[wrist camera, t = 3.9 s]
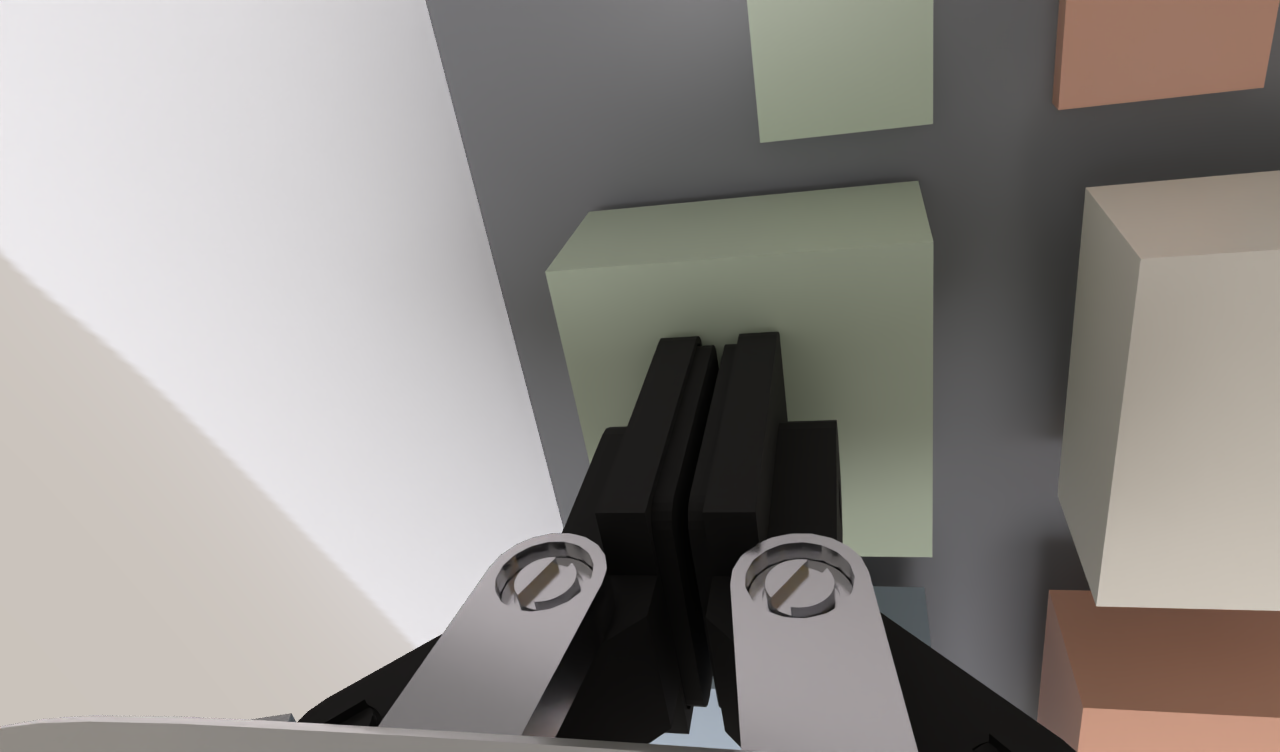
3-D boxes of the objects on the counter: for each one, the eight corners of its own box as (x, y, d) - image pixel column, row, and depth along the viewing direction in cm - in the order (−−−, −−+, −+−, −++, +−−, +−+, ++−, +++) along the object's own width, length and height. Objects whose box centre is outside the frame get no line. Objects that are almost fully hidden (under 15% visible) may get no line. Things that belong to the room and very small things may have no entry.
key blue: (924, 587, 15) (938, 700, 13) (925, 771, 17) (936, 891, 15) (646, 581, 16) (619, 684, 14) (683, 753, 19) (663, 862, 16)
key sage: (917, 180, 12) (932, 242, 10) (919, 462, 15) (932, 557, 13) (588, 211, 14) (545, 271, 12) (639, 466, 16) (610, 553, 14)
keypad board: (1692, -282, 10) (1906, -321, 8) (1322, 784, 20) (1378, 889, 18) (463, -56, 14) (401, -44, 12) (650, 738, 24) (633, 819, 22)
